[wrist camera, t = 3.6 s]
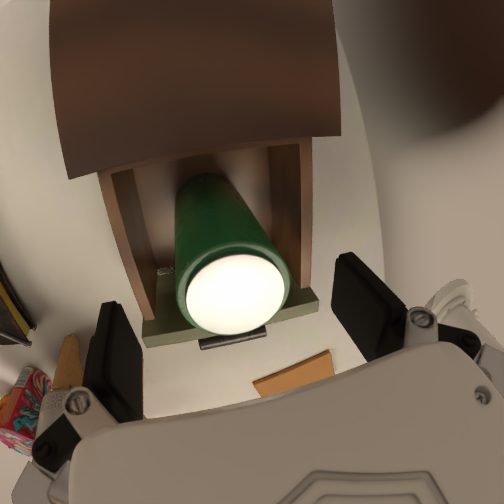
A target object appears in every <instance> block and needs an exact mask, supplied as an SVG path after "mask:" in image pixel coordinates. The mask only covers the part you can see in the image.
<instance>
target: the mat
mask: <svg viewBox="0 0 504 504" xmlns="http://www.w3.org/2000/svg"><path fill="white" fill-rule="evenodd" d="M333 375H335V374H334V369H333V364H332V359H331V354H330V351H329V350H327V351H325V352H323V353H321V354H319V355H317V356H314V357H312V358H310V359H308V360H306V361H303V362H301V363H299V364H297V365H294V366H292V367H290V368H287V369H285V370H283V371H280V372H278V373H275V374H273V375H271V376H268V377H266V378H263V379H260V380H258V381H255V382H253V385H254V387H255V388H256V390H257V391H258V393H259V394H260V395H261V397H265V396H269V395H273V394H276V393H280V392H283V391H287V390H290V389H294V388H297V387H300V386H303V385H307V384H310V383H313V382H316V381H319V380H322V379H325V378H328V377H331V376H333Z"/></svg>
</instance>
